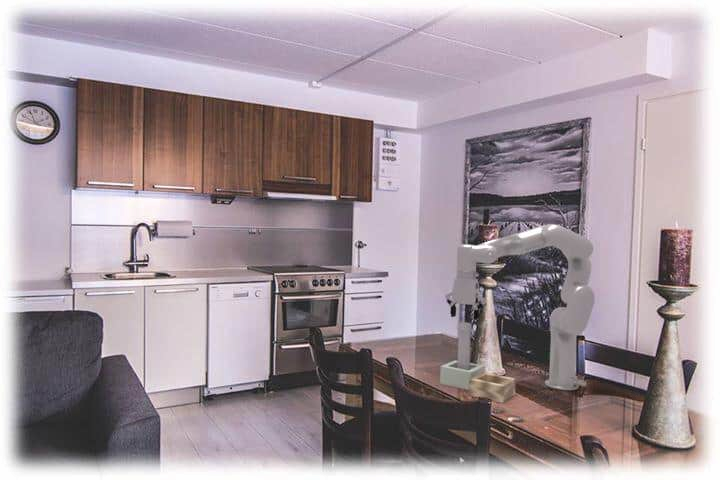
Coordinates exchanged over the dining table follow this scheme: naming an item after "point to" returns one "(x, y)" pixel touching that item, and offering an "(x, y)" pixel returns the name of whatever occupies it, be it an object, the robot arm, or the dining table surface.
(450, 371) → the holder block
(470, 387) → the oak collar
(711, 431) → the dining table surface
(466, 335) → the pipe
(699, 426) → the dining table surface
